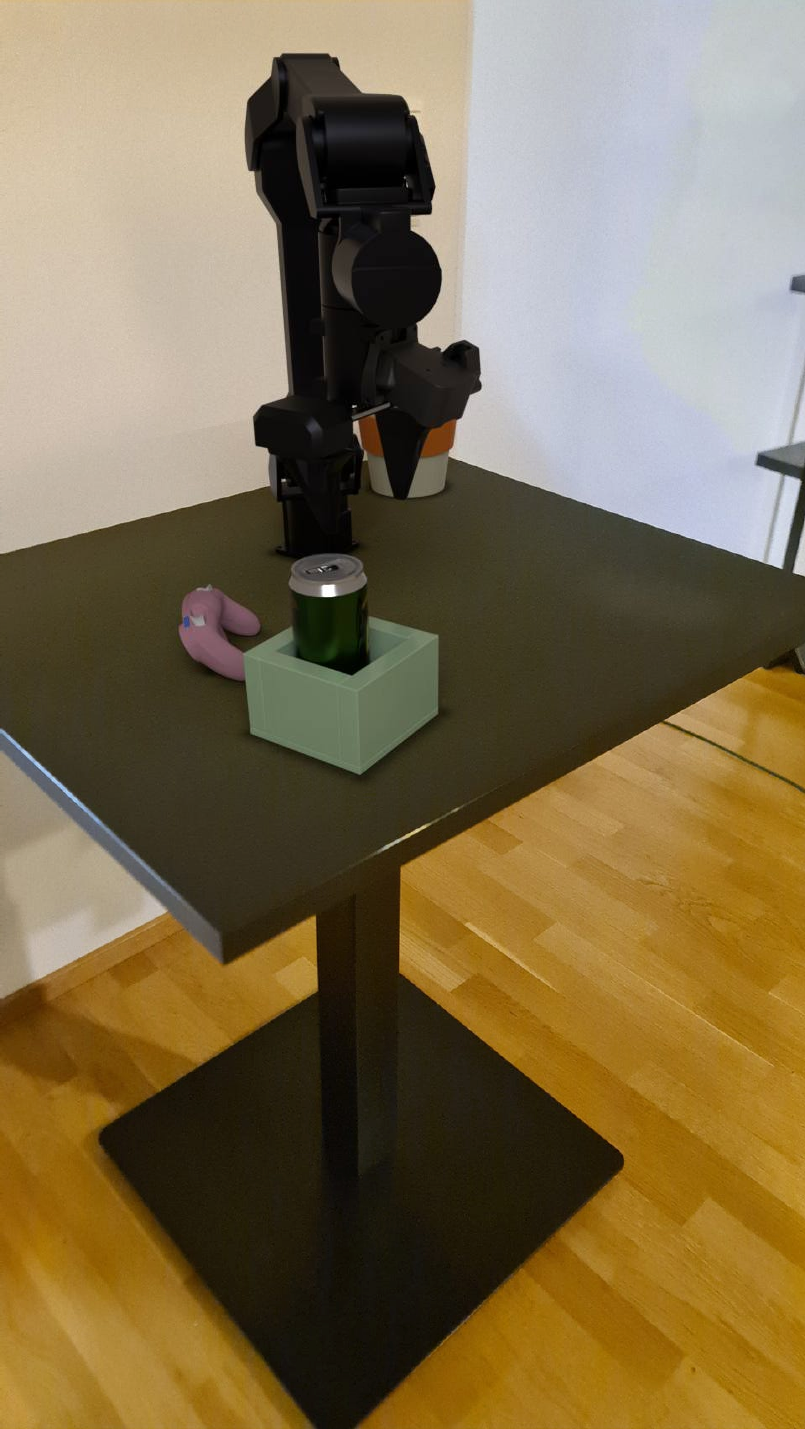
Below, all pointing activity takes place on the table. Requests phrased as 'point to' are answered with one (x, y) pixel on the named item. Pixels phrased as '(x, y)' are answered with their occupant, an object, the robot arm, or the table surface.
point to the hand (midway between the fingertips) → (367, 515)
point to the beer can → (330, 612)
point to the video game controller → (215, 630)
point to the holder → (344, 696)
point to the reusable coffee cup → (429, 465)
